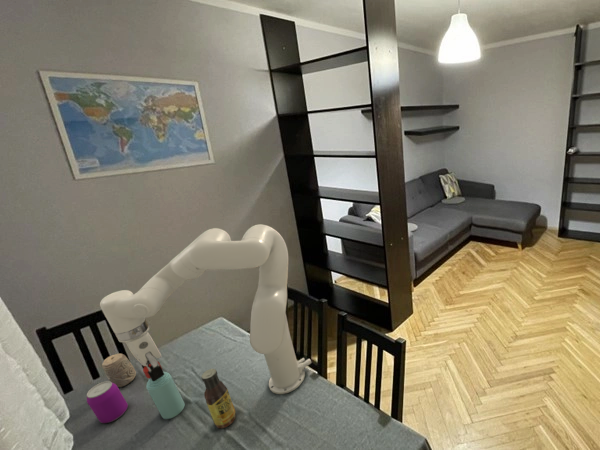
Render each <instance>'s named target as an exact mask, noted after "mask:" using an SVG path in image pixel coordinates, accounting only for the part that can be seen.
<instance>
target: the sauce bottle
mask: <svg viewBox="0 0 600 450" xmlns="http://www.w3.org/2000/svg"><path fill="white" fill-rule="evenodd" d="M200 377H201V381H202V382H203V383H204V387H205V390H204V393H203V395H204V399H205V403H206V406H207V408H208V411H209V414H210V416H211V418H212V422H213V423H214V425H215V426H216V428H217V429H225V428H227V427H229V426H230V425H231V424H233V423H234V421H235V420H236V416H237V414H236V409H235V406H234V404H233V400H232V397H231V395H230V393H229V389H228V387H227V386H226V385H225V384H224V382H223V381H222V380H220V378H219V376H218V371H217V370H216V368H210V369H207V370H205V371H204V372H203V373H202V374H201V376H200Z"/></svg>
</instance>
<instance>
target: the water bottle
mask: <svg viewBox="0 0 600 450" xmlns="http://www.w3.org/2000/svg"><path fill="white" fill-rule="evenodd" d="M163 372H164V375H163V376H162V377H160V378H159V379H157V380H155V381H152V379H151V378H148V379H147V380H148V381H147V382H146V390H147V392H148V394H149V395H150V398H151V399H152V401H153V403H154V405H155V407H156V409H157V411H158V412H159V414H160V416H161V418H163V420H170V419H173V418H175V417H176V416H178V415H179V414H180V413H181V412H182V411H183V410H184V408H185V404H186V403H185V401H184V399H183V398H182V395H181V393H180V391H179V389H178V387H177V385H176V383H175V381H174V378H173V377H172V375H171V374H170V373H169V372H167V371H163Z"/></svg>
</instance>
